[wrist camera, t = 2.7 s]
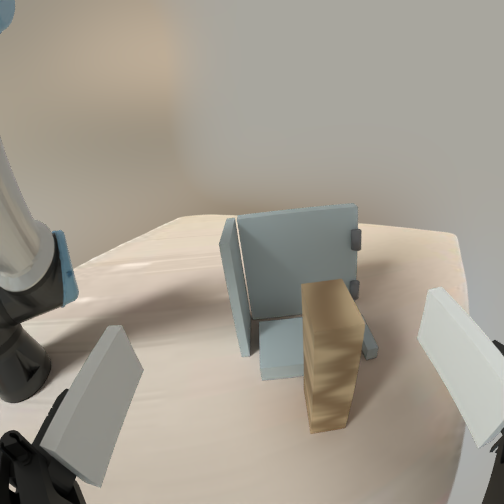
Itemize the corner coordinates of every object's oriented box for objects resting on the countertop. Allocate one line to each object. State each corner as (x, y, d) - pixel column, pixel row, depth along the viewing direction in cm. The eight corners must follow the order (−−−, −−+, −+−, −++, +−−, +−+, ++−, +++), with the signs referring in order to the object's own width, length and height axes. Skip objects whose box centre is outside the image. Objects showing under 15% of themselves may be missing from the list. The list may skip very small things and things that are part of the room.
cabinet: (240, 382, 35) (213, 263, 28) (244, 313, 50) (227, 216, 42) (382, 361, 34) (402, 241, 27) (352, 300, 48) (355, 203, 41)
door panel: (310, 433, 26) (314, 331, 20) (303, 389, 32) (300, 283, 26) (345, 427, 26) (365, 323, 19) (334, 384, 32) (341, 278, 26)
